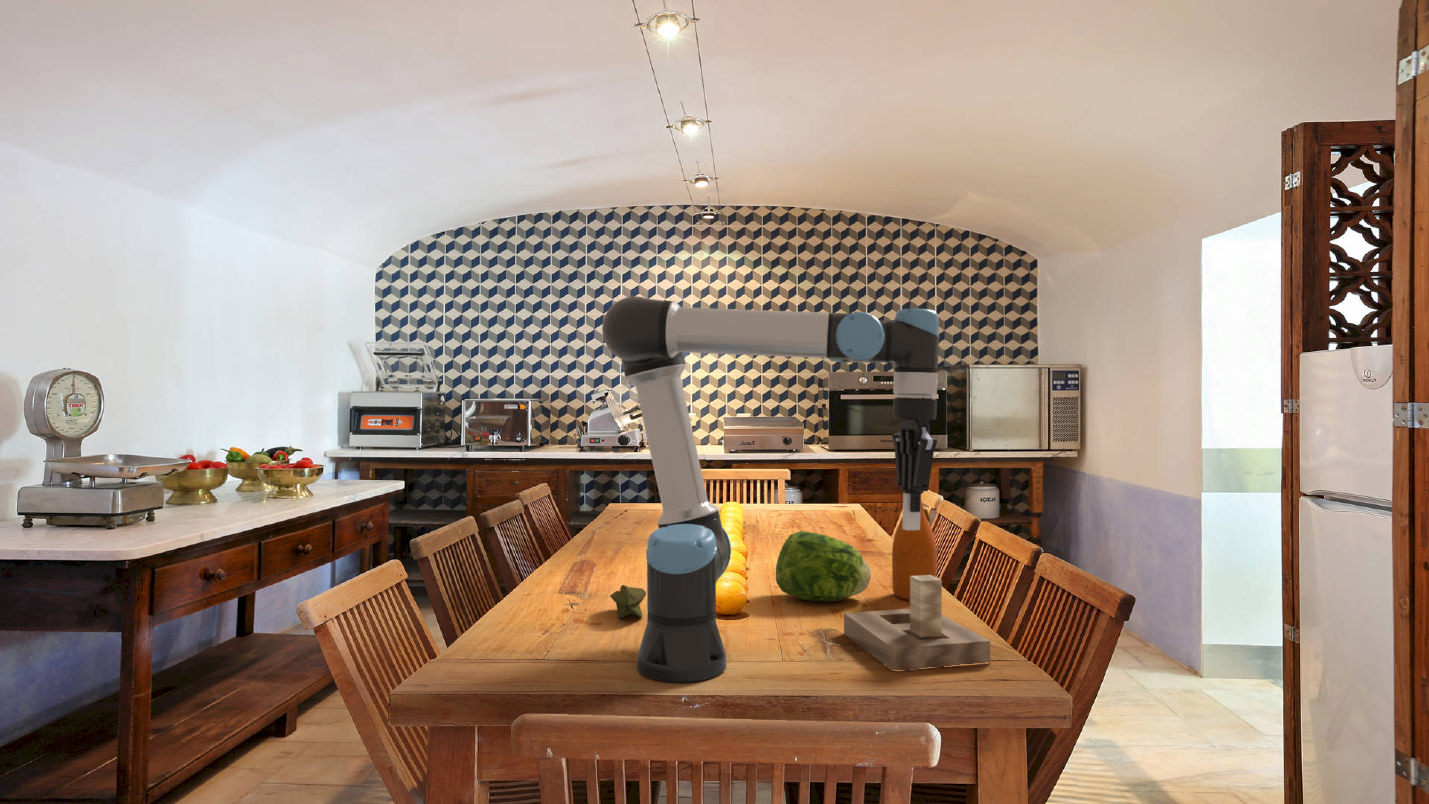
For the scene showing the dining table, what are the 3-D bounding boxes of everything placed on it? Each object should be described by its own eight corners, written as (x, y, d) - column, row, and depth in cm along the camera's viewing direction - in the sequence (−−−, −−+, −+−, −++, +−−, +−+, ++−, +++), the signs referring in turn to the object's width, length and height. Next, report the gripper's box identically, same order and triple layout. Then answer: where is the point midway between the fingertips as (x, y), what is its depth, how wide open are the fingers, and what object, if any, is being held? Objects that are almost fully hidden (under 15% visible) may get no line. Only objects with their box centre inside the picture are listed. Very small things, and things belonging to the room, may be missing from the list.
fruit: (666, 614, 173) (665, 583, 173) (630, 628, 163) (630, 595, 163) (623, 606, 179) (623, 576, 179) (586, 619, 169) (586, 587, 169)
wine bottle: (937, 603, 181) (938, 467, 180) (892, 601, 183) (892, 466, 182) (935, 592, 191) (935, 463, 190) (891, 590, 193) (892, 462, 192)
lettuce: (867, 623, 175) (887, 554, 177) (774, 592, 175) (795, 523, 177) (850, 613, 191) (869, 550, 193) (765, 585, 191) (785, 522, 193)
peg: (920, 661, 143) (920, 581, 142) (909, 654, 147) (909, 576, 146) (941, 659, 143) (942, 580, 143) (930, 652, 147) (930, 574, 147)
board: (892, 672, 137) (892, 648, 137) (843, 633, 159) (844, 613, 159) (990, 664, 141) (990, 641, 141) (929, 627, 163) (929, 607, 163)
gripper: (952, 398, 140) (948, 535, 141) (918, 396, 153) (914, 522, 153) (911, 397, 138) (907, 536, 139) (880, 395, 151) (876, 523, 152)
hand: (911, 529), depth 146 cm, fingers closed
